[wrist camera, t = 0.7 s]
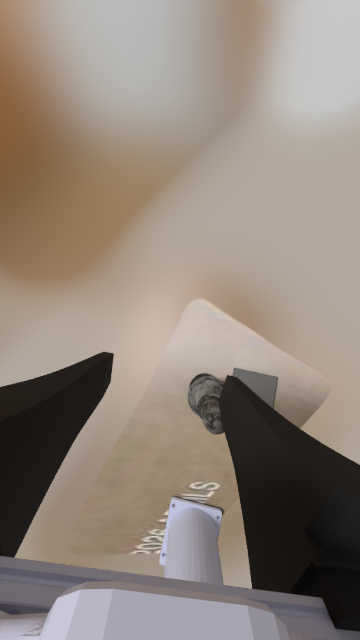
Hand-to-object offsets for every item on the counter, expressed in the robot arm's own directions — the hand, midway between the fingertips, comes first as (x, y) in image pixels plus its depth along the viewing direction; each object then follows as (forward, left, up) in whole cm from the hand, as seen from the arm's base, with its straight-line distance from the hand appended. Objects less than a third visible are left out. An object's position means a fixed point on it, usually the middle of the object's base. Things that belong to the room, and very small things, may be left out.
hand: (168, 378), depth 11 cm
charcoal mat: (-4, -13, -19) cm, 23 cm away
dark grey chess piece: (-5, -5, -19) cm, 20 cm away
